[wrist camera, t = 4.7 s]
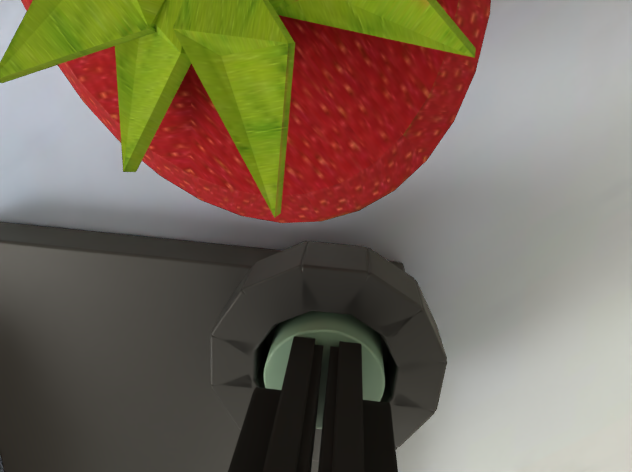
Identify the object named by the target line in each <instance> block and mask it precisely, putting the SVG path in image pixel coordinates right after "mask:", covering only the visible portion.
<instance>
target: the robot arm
mask: <svg viewBox="0 0 632 472" xmlns="http://www.w3.org/2000/svg"><path fill="white" fill-rule="evenodd" d="M315 340H316V339H315V338H306V337H297V336H294V338H293V342H292V346H291V351H290V355H289V359H288V364H287V368H286V372H285V377H284V381H283V385H282V390H277V389H268V388H259V387H256V388H255V389H254V391H253V394H252V397H251V400H250V403H249V407H248V410H247V413H246V416H245V419H244V422H243V426H242V429H241V432H240V435H239V438H238V441H237V445H236V448H235V451H234V454H233V457H232V460H231V463H230V467H229V470H228V472H311V467H312V458H313V449H314V440H315V430H316V419H317V409H318V398H319V388H320V377H321V367H322V356H323V345H315ZM318 472H398V470H397V460H396V451H395V441H394V432H393V422H392V413H391V406H390V403H388V402H379V401H370V400H363V386H362V345H361V344H360V343H351V342H342V341H340V342H339V347H333V346H330V355H329V365H328V375H327V385H326V395H325V405H324V415H323V424H322V434H321V445H320V455H319V466H318Z"/></svg>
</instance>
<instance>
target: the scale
mask: <svg viewBox="0 0 632 472" xmlns="http://www.w3.org/2000/svg"><path fill="white" fill-rule="evenodd" d="M310 311H318V312H328V313H337V314H346V315H351V316H353V317H354V318H356V319H358V320H359V321H361V322H362V323H364V324H365V325H367V326H368V327H370V328H371V329H373V330H375V331H376V332H378V333H379V334H380V337H381V342H382V353H383V363H384V374H385V389H384V393H383V396H382V398H381V400H380V402H388V403H390V406H391V413H392V422H393V432H394V441H395V450H396V449H397V447H400V446H401V445H402V444H403V443H404V442H405V441H406V440H407V439H408V438H409V437H410V436H411V435H412V434H413V433H414V432H415V431H416V430H417V429H419V428H420V427H421V426H422V425H423V424H424V423H425V422H426V421H427V420H428V419H429V418H430V417H431V416H432V415H433V414H434V413H435V411H436V410H437V406H438V402H439V397H440V392H441V388H442V383H443V379H444V374H445V369H446V365H447V357H446V354H445V351H444V347H443V344H442V341H441V338H440V335H439V332H438V328H437V325H436V323H435V321H434V318H433V316H432V314H431V312H430V309H429V307H428V305H427V303H426V300H425V298H424V296H423V294H422V291H421V289H420V287H419V285H418V283H417V281H416V280H415V279H414V278H413V277H411V276H410V275H408V274H407V273H405V270H404V266H403V263H400V262H391V261H388V260H386V259H385V258H383V257H382V256H380V255H379V254H377V253H376V252H374V251H373V250H371V249H369V248H367V247H364V246H354V245H344V244H334V243H324V242H314V241H309V242H307V241H305V242H302V243H300V244H298V245H295V246H293V247H290V248H288V249H286V250H283V251H282V250H272V249H262V248H252V247H242V246H232V245H222V244H213V243H203V242H193V241H183V240H173V239H163V238H153V237H143V236H133V235H123V234H114V233H104V232H94V231H84V230H74V229H64V228H54V227H44V226H34V225H25V224H15V223H5V222H0V455H1V459H2V463H3V467H4V472H228V470H229V467H230V463H231V460H232V457H233V454H234V451H235V448H236V445H237V441H238V438H239V435H240V432H241V429H242V426H243V422H244V419H245V416H246V413H247V410H248V407H249V403H250V400H251V397H252V394H253V391H254V389H255V388H256V387H259V388H265V384H264V367H265V363H266V360H267V357H268V353H269V350H270V347H271V344H272V340H273V337H274V334H275V330H276V328H277V326H278V324H279V323H281V322H284V321H286V320H289V319H291V318H294V317H297V316H299V315H302V314H304V313H307V312H310ZM321 434H322V429H317V428H316V430H315V440H314V449H313V458H312V467H311V472H318V466H319V455H320V445H321Z"/></svg>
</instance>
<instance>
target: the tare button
mask: <svg viewBox="0 0 632 472" xmlns="http://www.w3.org/2000/svg"><path fill="white" fill-rule="evenodd" d="M294 336H297V337H306V338H315V339H316V340H315V345H323V356H322V367H321V377H320V388H319V398H318V409H317V419H316V428H317V429H322V424H323V415H324V405H325V395H326V385H327V375H328V365H329V355H330V346H333V347H339V342H340V341H342V342H351V343H360V344H361V345H362V386H363V400H370V401H379V402H380V400H381V398H382V396H383V393H384V389H385V374H384V363H383V353H382V342H381V337H380V334H379V333H378V332H376V331H375V330H373V329H371V328H370V327H368V326H367V325H365V324H364V323H362V322H361V321H359V320H358V319H356V318H354V317H353V316H351V315H346V314H337V313H328V312H318V311H310V312H307V313H304V314H302V315H299V316H297V317H294V318H291V319H289V320H286V321H284V322H281V323H279V324H278V326H277V328H276V330H275V334H274V337H273V340H272V344H271V347H270V350H269V353H268V357H267V360H266V363H265V367H264V384H265V388H268V389H277V390H282V385H283V381H284V377H285V372H286V368H287V364H288V359H289V355H290V351H291V346H292V342H293V338H294Z"/></svg>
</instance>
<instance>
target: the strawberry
mask: <svg viewBox="0 0 632 472" xmlns="http://www.w3.org/2000/svg"><path fill="white" fill-rule="evenodd" d="M21 1H22V3H23V5H24V7H25V9H26V10H27V12H26V14H25V16H24V18H23V20H22V22H21V24H20V26H19V28H18V29H17V31H16V33H15V35H14V37H13V39H12V41H11V43H10V45H9V47H8V49H7V51H6V52H5V54H4V56H3V58H2V60H1V62H0V83H4V82H7V81H10V80H13V79H16V78H19V77H22V76H25V75H28V74H31V73H34V72H37V71H40V70H43V69H46V68H49V67H52V66H55V65H58V66H59V68H60V69H61V70H62V72H63V73H64V75H65V76H66V78H67V79H68V80H69V82H70V83H71V85H72V86H73V88H74V89H75V90H76V92H77V93H78V95H79V96H80V98H81V99H82V100H83V102H84V103H85V104H86V105H87V106H88V107H89V108H90V109H91V111H92V112H93V113H94V114H95V115H96V116H97V117H98V118H99V119H100V120H101V122H102V123H103V124H104V125H105V126H106V127H107V128H108V129H109V130H110V131H111V133H112V134H113V135H114V136H115V137H116V138H117V139H118V140H119V141H120V143H121V145H122V160H123V172H136V171H137V169H138V167H139V165H140V163H141V161H143V162H144V163H146V164H147V165H148V166H149V167H150V168H152V169H153V170H154V171H155V172H156V173H158V174H159V175H160V176H162V177H163V178H165V179H167V180H168V181H170V182H172V183H173V184H175V185H176V186H178V187H180V188H181V189H183V190H185V191H186V192H188V193H190V194H191V195H193V196H195V197H196V198H198V199H200V200H202V201H204V202H207V203H210V204H212V205H215V206H217V207H220V208H222V209H225V210H228V211H230V212H233V213H235V214H238V215H240V216H245V217H251V218H256V219H262V220H268V221H273V222H279V223H293V222H316V221H324V220H328V219H331V218H335V217H338V216H342V215H345V214H349V213H352V212H356V211H359V210H361V209H363V208H364V207H366V206H368V205H370V204H372V203H373V202H375V201H377V200H379V199H380V198H382V197H384V196H386V195H387V194H389V193H391V192H393V191H394V190H395V189H397V188H398V187H399V186H400V185H401V184H402V183H403V182H404V181H405V180H406V179H407V178H408V177H409V176H411V175H412V174H413V173H414V172H415V171H416V170H417V169H418V168H419V167H420V166H421V165H422V164H423V163H425V162H426V161H427V159H428V158H429V156H430V155H431V153H432V152H433V151H434V149H435V148H436V146H437V145H438V143H439V142H440V140H441V139H442V138H443V136H444V135H445V133H446V132H447V130H448V129H449V128H450V126H451V125H452V123H453V122H454V120H455V117H456V115H457V113H458V111H459V108H460V106H461V104H462V101H463V99H464V97H465V95H466V92H467V90H468V88H469V86H470V83H471V81H472V79H473V76H474V74H475V72H476V68H477V63H478V59H479V55H480V51H481V47H482V43H483V39H484V35H485V31H486V27H487V23H488V19H489V15H490V4H491V0H21Z"/></svg>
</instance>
